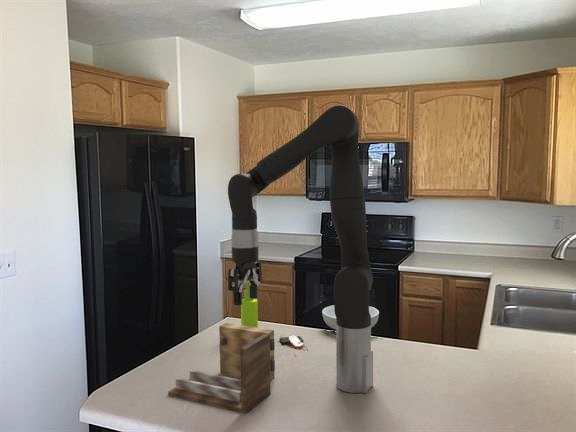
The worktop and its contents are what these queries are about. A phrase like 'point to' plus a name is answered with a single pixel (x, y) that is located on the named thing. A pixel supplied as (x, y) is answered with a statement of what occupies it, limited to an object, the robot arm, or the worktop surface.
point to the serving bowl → (331, 318)
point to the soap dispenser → (249, 309)
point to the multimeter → (293, 341)
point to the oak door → (234, 340)
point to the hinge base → (232, 381)
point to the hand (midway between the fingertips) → (245, 301)
